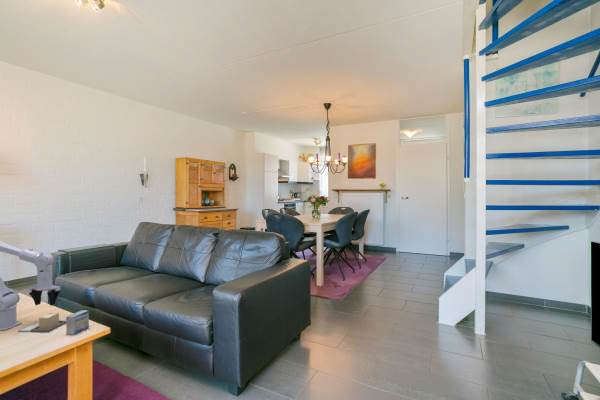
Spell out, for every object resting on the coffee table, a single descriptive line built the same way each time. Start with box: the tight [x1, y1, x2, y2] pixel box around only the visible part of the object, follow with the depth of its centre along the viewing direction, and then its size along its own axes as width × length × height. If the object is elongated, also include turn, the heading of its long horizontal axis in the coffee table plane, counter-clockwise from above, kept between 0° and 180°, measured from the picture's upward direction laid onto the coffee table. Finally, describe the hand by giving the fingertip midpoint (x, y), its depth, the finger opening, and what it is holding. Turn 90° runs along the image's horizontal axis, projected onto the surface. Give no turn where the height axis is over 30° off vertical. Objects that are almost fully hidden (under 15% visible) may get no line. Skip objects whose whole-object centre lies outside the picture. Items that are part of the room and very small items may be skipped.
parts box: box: [38, 312, 60, 329], centre depth 143 cm, size 4×6×6 cm
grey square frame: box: [30, 320, 66, 333], centre depth 143 cm, size 9×10×1 cm
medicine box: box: [65, 309, 90, 336], centre depth 139 cm, size 8×4×9 cm, turn 168°
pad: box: [17, 321, 39, 333], centre depth 143 cm, size 6×10×1 cm, turn 178°
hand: (45, 304), depth 148 cm, fingers open, 7 cm apart
